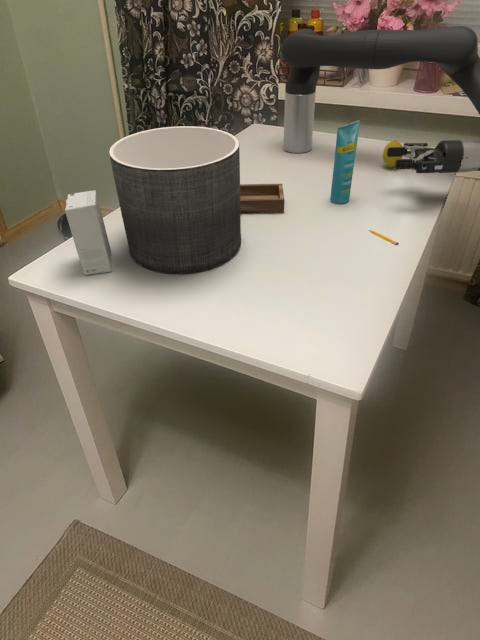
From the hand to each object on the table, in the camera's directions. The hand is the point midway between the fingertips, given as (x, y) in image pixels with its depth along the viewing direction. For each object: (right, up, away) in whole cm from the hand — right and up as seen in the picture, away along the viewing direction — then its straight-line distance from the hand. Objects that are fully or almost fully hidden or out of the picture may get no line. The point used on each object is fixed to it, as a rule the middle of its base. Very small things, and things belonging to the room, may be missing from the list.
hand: (391, 158), depth 115 cm
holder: (-32, -10, +6) cm, 34 cm away
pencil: (-5, -21, -8) cm, 23 cm away
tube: (-11, -9, +7) cm, 16 cm away
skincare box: (-68, -28, -15) cm, 75 cm away
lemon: (+7, +5, +24) cm, 25 cm away
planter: (-49, -23, -9) cm, 55 cm away
